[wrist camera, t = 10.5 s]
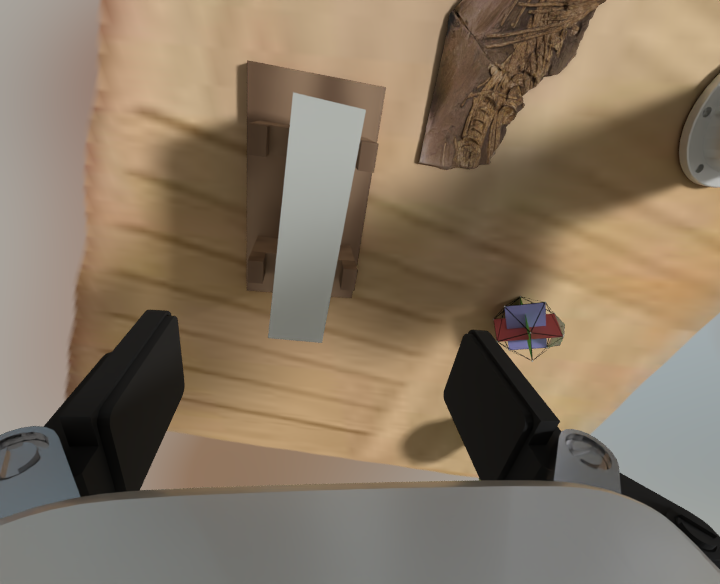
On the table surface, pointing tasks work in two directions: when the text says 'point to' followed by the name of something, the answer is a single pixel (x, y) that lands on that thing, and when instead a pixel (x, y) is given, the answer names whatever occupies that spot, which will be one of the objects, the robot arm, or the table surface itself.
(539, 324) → the geometric puzzle
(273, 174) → the wooden display stand
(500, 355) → the robot arm
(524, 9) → the wooden fragment
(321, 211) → the clay bar
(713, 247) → the table surface
